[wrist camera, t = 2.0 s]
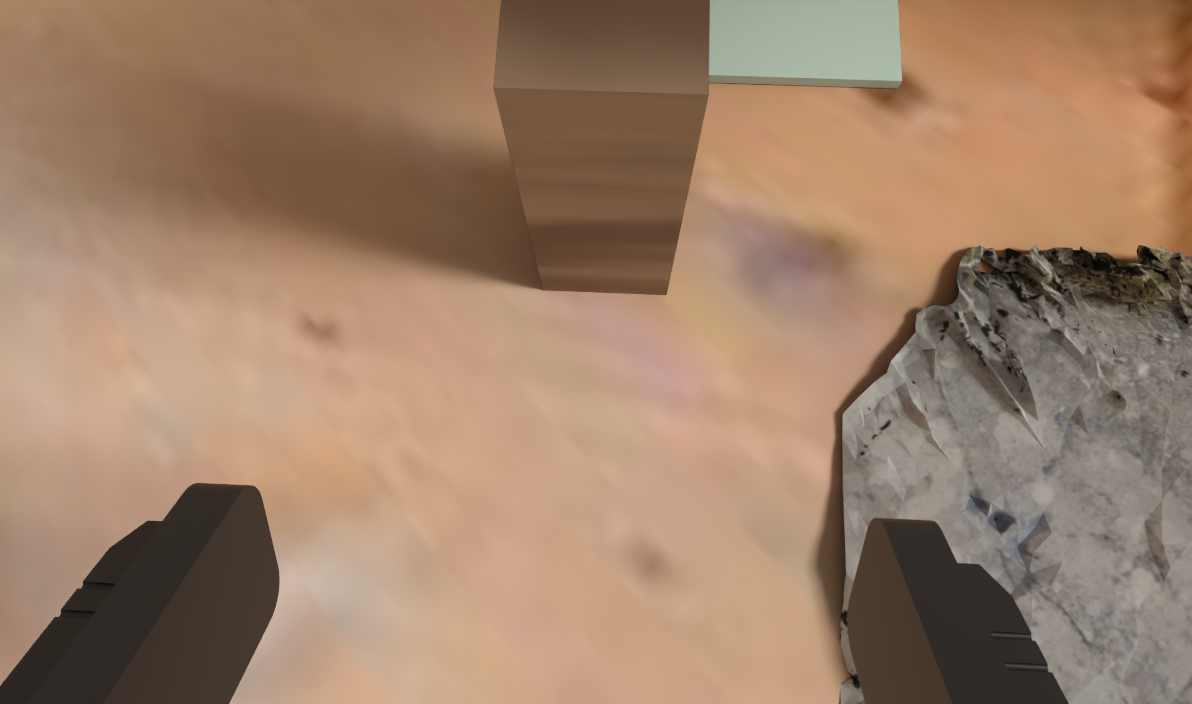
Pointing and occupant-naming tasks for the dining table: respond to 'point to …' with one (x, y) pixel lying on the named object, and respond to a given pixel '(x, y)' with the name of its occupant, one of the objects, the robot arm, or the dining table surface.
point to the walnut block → (603, 133)
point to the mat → (805, 42)
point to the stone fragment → (1049, 458)
